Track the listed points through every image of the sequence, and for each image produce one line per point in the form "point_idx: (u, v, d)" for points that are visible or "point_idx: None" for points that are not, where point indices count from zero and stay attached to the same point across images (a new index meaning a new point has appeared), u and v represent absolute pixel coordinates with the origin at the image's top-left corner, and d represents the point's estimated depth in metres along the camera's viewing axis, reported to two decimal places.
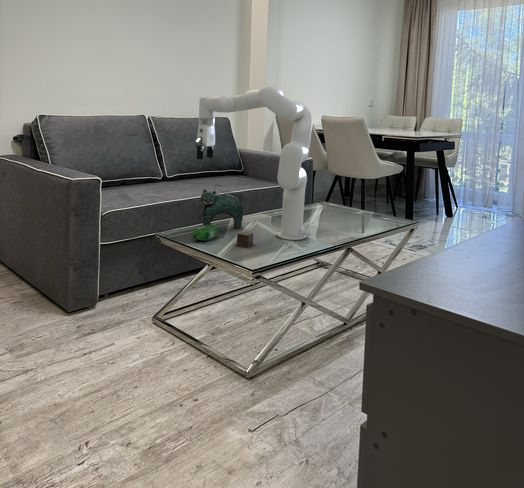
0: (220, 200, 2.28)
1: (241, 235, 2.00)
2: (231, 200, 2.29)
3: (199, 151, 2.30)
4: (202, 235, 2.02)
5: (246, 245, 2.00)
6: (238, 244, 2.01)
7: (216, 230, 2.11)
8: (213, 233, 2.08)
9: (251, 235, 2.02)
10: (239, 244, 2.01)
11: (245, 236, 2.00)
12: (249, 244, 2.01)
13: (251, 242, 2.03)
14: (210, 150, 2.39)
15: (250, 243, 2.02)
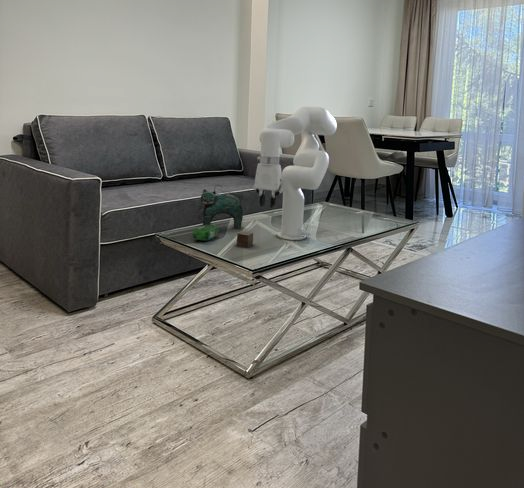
0: (220, 200, 2.28)
1: (241, 235, 2.00)
2: (231, 200, 2.29)
3: None
4: (202, 235, 2.02)
5: (246, 245, 2.00)
6: (238, 244, 2.01)
7: (216, 230, 2.11)
8: (213, 233, 2.08)
9: (251, 235, 2.02)
10: (239, 244, 2.01)
11: (245, 236, 2.00)
12: (249, 244, 2.01)
13: (251, 242, 2.03)
14: None
15: (250, 243, 2.02)
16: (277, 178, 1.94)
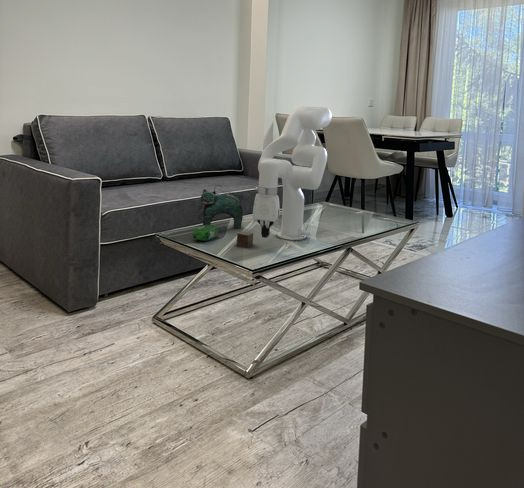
0: (220, 200, 2.28)
1: (241, 235, 2.00)
2: (231, 200, 2.29)
3: None
4: (202, 235, 2.02)
5: (246, 245, 2.00)
6: (238, 244, 2.01)
7: (216, 230, 2.11)
8: (213, 233, 2.08)
9: (251, 235, 2.02)
10: (239, 244, 2.01)
11: (245, 236, 2.00)
12: (249, 244, 2.01)
13: (251, 242, 2.03)
14: None
15: (250, 243, 2.02)
16: (275, 209, 1.94)
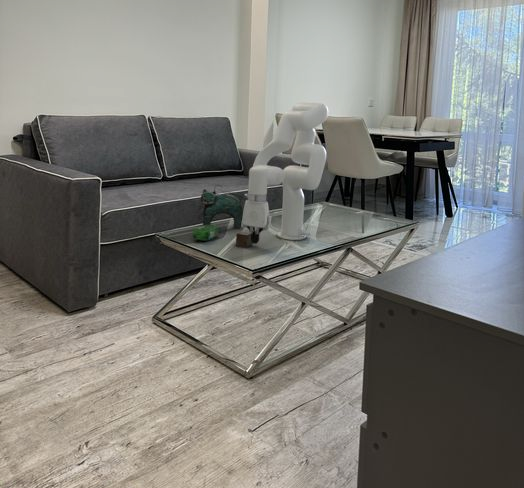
0: (220, 200, 2.28)
1: (240, 235, 2.00)
2: (231, 200, 2.29)
3: None
4: (202, 235, 2.02)
5: (245, 245, 2.00)
6: (237, 244, 2.01)
7: (216, 230, 2.11)
8: (213, 233, 2.08)
9: (250, 235, 2.02)
10: (238, 244, 2.01)
11: (244, 236, 2.00)
12: (248, 244, 2.01)
13: (250, 242, 2.03)
14: None
15: (249, 243, 2.02)
16: (264, 216, 1.96)
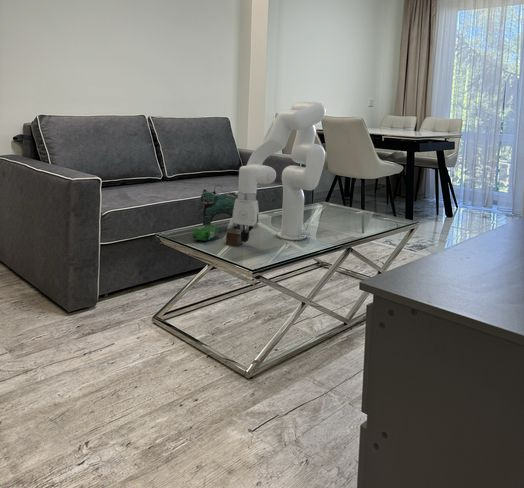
0: (220, 200, 2.28)
1: (230, 233, 2.02)
2: (231, 200, 2.29)
3: None
4: (202, 235, 2.02)
5: (235, 243, 2.01)
6: (227, 242, 2.03)
7: (216, 230, 2.11)
8: (213, 233, 2.08)
9: (240, 233, 2.04)
10: (228, 242, 2.02)
11: (234, 234, 2.01)
12: (238, 242, 2.02)
13: (240, 240, 2.04)
14: None
15: (239, 241, 2.03)
16: (254, 214, 1.98)
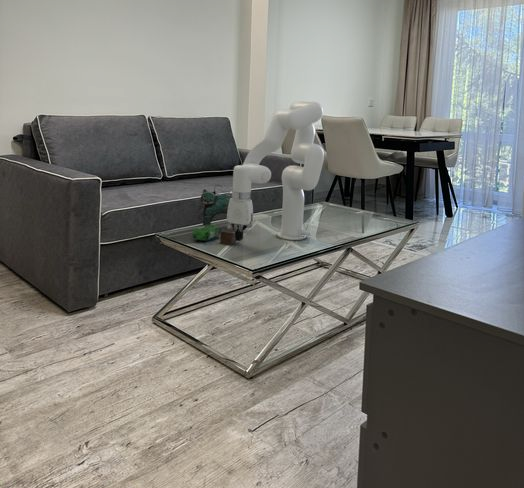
0: (220, 200, 2.28)
1: (225, 233, 2.03)
2: None
3: None
4: (202, 235, 2.02)
5: (229, 243, 2.02)
6: (222, 242, 2.03)
7: (216, 230, 2.11)
8: (213, 233, 2.08)
9: None
10: (223, 242, 2.03)
11: (228, 234, 2.02)
12: (232, 242, 2.03)
13: (235, 240, 2.05)
14: None
15: (234, 241, 2.04)
16: (248, 213, 1.99)
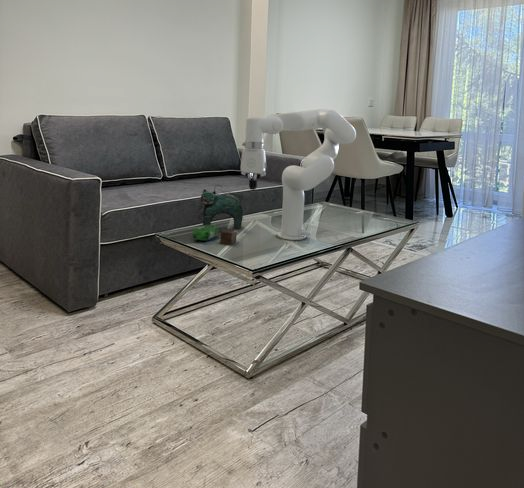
0: (220, 200, 2.28)
1: (224, 233, 2.03)
2: (231, 200, 2.29)
3: None
4: (202, 235, 2.02)
5: (229, 242, 2.02)
6: (221, 241, 2.03)
7: (216, 230, 2.11)
8: (213, 233, 2.08)
9: (234, 233, 2.05)
10: (223, 241, 2.03)
11: (228, 234, 2.02)
12: (232, 241, 2.03)
13: (234, 239, 2.05)
14: None
15: (233, 240, 2.04)
16: (262, 162, 2.05)
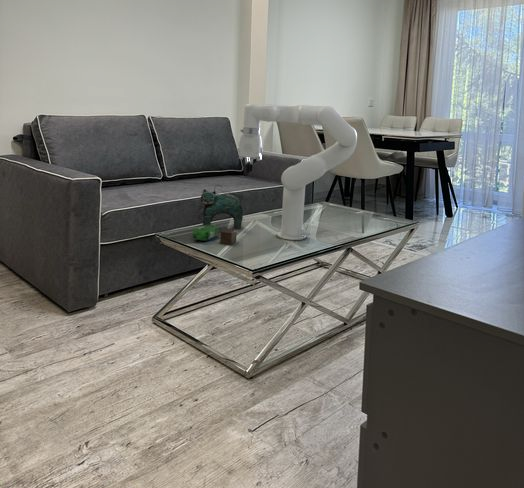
0: (220, 200, 2.28)
1: (224, 233, 2.03)
2: (231, 200, 2.29)
3: None
4: (202, 235, 2.02)
5: (229, 242, 2.02)
6: (221, 241, 2.03)
7: (216, 230, 2.11)
8: (213, 233, 2.08)
9: (234, 233, 2.05)
10: (223, 242, 2.03)
11: (228, 234, 2.02)
12: (232, 241, 2.03)
13: (234, 239, 2.05)
14: None
15: (233, 240, 2.04)
16: (258, 147, 2.18)
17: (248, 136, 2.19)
